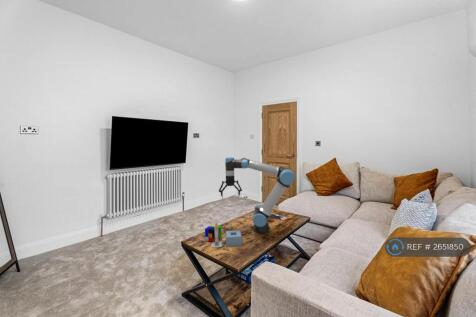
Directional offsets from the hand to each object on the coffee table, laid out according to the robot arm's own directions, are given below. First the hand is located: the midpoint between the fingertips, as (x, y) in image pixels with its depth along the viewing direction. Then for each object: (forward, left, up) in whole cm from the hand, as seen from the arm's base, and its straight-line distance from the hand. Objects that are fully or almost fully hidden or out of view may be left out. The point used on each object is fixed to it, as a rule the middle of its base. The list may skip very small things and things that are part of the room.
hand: (230, 199), depth 190 cm
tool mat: (+13, +17, -32) cm, 38 cm away
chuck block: (+1, +15, -32) cm, 35 cm away
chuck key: (+12, +17, -31) cm, 38 cm away
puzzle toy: (+15, +7, -32) cm, 36 cm away
